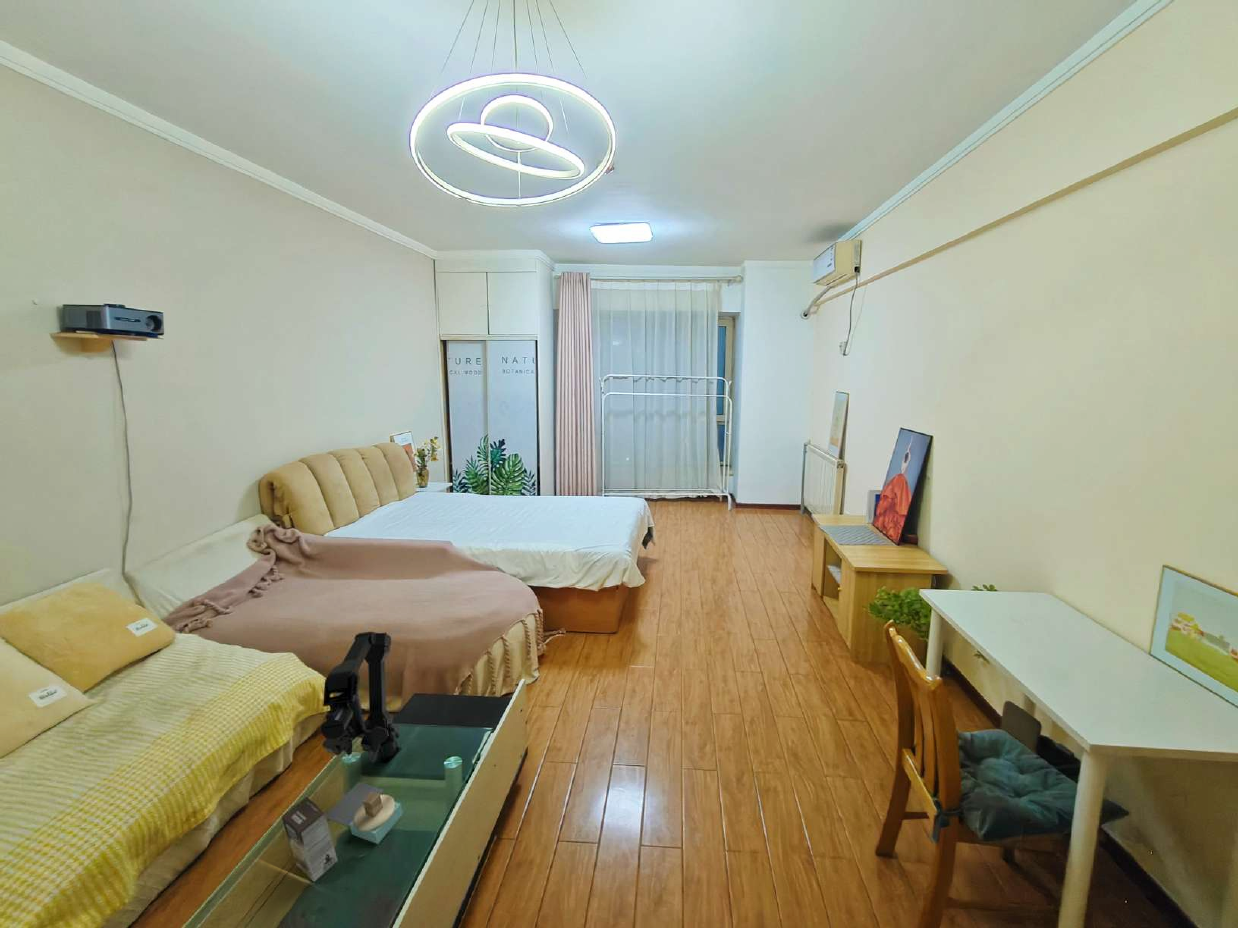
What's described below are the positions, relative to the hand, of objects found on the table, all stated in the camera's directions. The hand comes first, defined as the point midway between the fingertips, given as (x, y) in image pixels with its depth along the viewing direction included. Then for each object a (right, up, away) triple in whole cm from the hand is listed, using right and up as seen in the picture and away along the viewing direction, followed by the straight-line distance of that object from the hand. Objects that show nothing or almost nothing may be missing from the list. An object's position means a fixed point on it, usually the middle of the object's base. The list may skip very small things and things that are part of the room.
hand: (361, 757), depth 146 cm
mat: (-2, -14, 0) cm, 14 cm away
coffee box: (-3, -18, -16) cm, 24 cm away
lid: (+8, -11, -8) cm, 15 cm away
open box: (+8, -14, -7) cm, 18 cm away
